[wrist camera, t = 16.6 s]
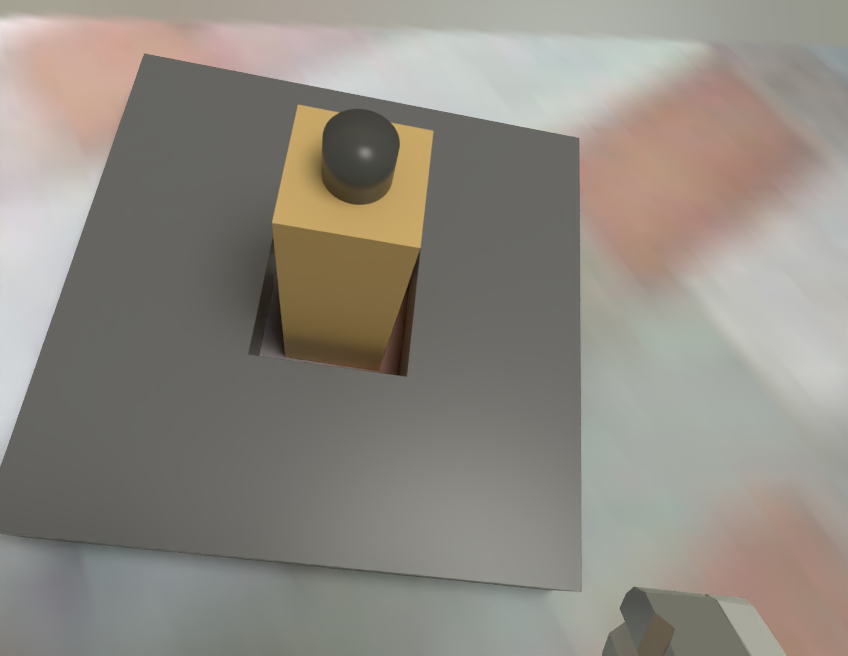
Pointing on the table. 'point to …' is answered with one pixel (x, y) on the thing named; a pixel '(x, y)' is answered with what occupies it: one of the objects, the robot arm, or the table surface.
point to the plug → (347, 232)
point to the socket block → (305, 382)
